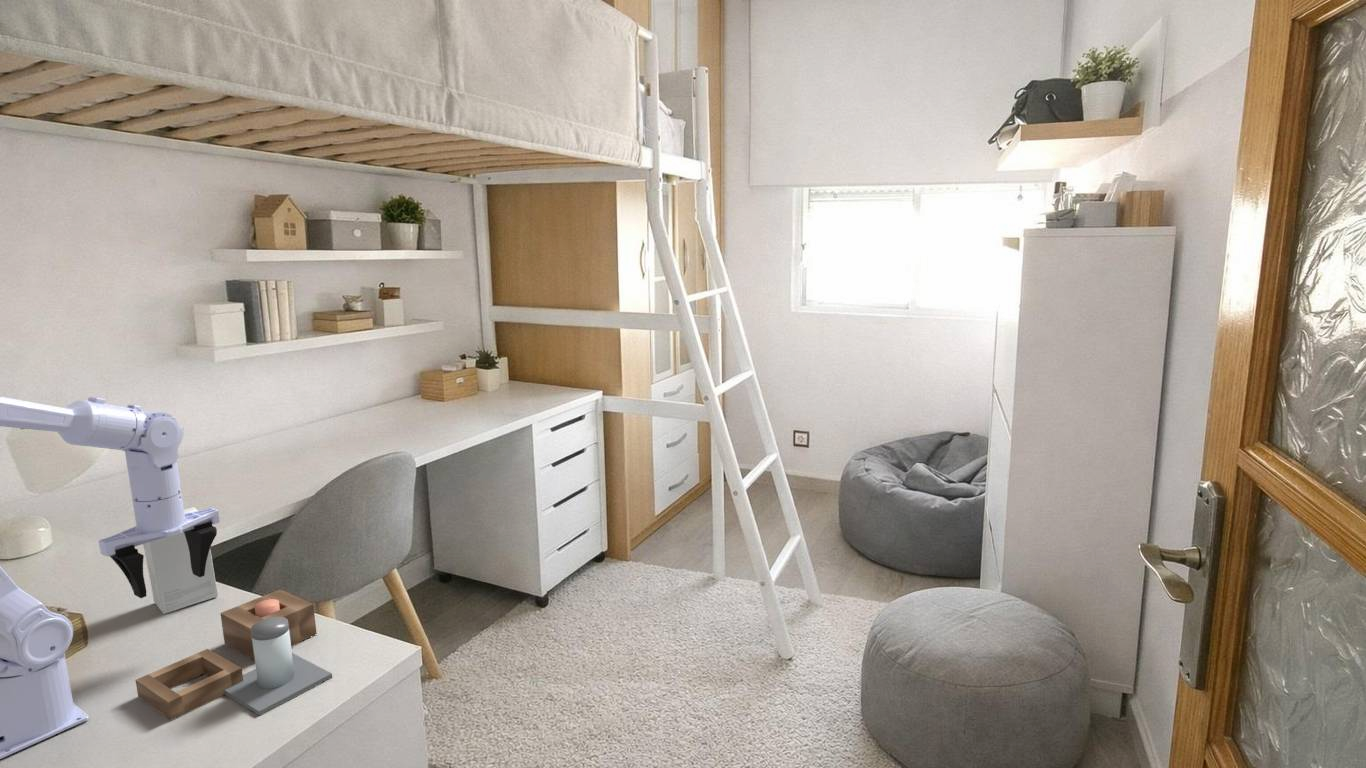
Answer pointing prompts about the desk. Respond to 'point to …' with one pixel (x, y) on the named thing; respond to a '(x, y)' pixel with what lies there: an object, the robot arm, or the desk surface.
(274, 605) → the plunger
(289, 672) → the cylinder
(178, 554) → the skincare box
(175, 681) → the sleeve
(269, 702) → the pad
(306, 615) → the plunger housing
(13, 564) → the desk surface
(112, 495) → the desk surface
